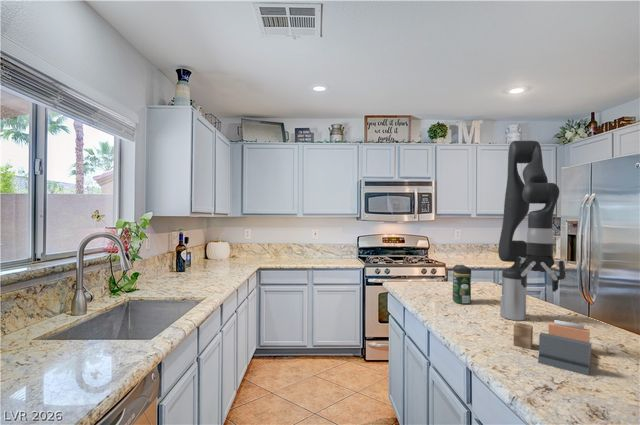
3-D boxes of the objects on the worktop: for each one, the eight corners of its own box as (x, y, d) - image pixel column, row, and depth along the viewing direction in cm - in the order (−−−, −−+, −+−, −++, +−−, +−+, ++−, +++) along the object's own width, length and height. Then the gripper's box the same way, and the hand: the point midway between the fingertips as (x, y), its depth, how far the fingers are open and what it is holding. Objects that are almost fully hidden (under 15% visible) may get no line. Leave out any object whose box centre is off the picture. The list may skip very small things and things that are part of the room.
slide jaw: (548, 338, 118) (548, 319, 118) (549, 336, 120) (549, 317, 120) (588, 347, 111) (589, 327, 111) (589, 344, 113) (589, 324, 113)
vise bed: (538, 362, 104) (538, 336, 104) (548, 340, 122) (548, 317, 122) (588, 375, 96) (588, 347, 96) (591, 349, 114) (591, 325, 114)
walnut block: (513, 345, 117) (513, 325, 117) (515, 342, 120) (516, 322, 120) (530, 349, 114) (530, 328, 114) (532, 346, 117) (532, 325, 117)
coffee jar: (450, 299, 177) (451, 263, 177) (466, 300, 176) (467, 263, 176) (455, 304, 167) (456, 266, 167) (472, 305, 166) (473, 267, 166)
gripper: (513, 240, 119) (512, 287, 119) (563, 243, 109) (562, 294, 109) (519, 239, 124) (518, 284, 124) (567, 242, 114) (566, 291, 114)
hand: (539, 289), depth 116 cm, fingers open, 8 cm apart
